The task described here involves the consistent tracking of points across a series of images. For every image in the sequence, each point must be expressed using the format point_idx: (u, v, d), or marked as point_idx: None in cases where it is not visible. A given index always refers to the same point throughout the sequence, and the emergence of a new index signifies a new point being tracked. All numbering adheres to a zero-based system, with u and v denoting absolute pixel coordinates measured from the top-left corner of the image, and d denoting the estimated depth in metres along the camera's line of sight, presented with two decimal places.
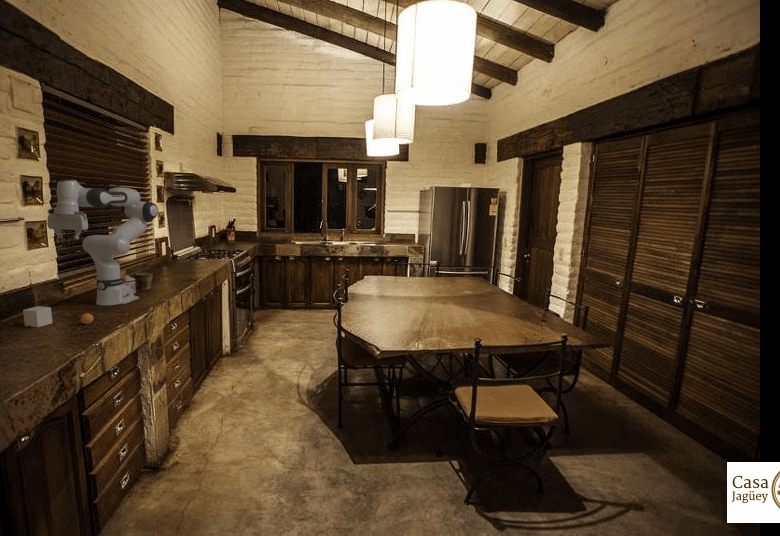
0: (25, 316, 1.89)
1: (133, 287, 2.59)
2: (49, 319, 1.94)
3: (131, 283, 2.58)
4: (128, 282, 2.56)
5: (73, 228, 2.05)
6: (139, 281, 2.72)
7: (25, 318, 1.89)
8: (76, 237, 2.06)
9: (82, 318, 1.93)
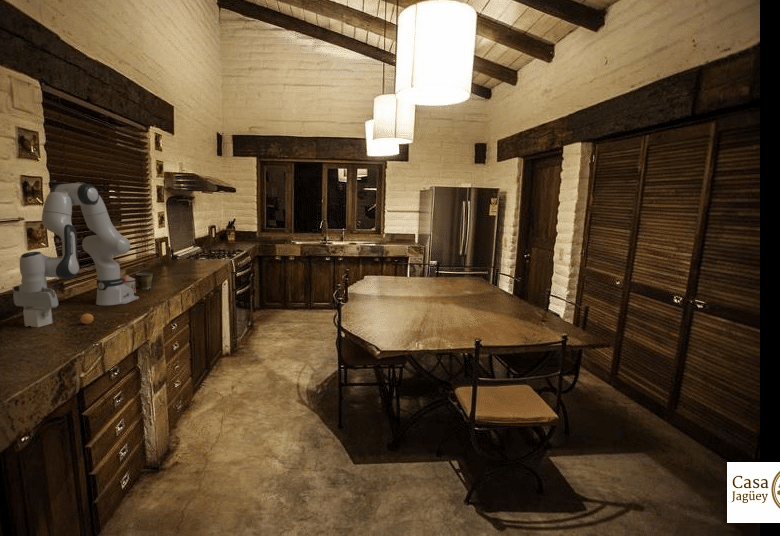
0: (25, 316, 1.89)
1: (133, 287, 2.59)
2: (49, 319, 1.94)
3: (131, 283, 2.58)
4: (128, 282, 2.56)
5: (42, 306, 1.89)
6: (139, 281, 2.72)
7: (25, 318, 1.89)
8: (45, 315, 1.91)
9: (82, 318, 1.93)
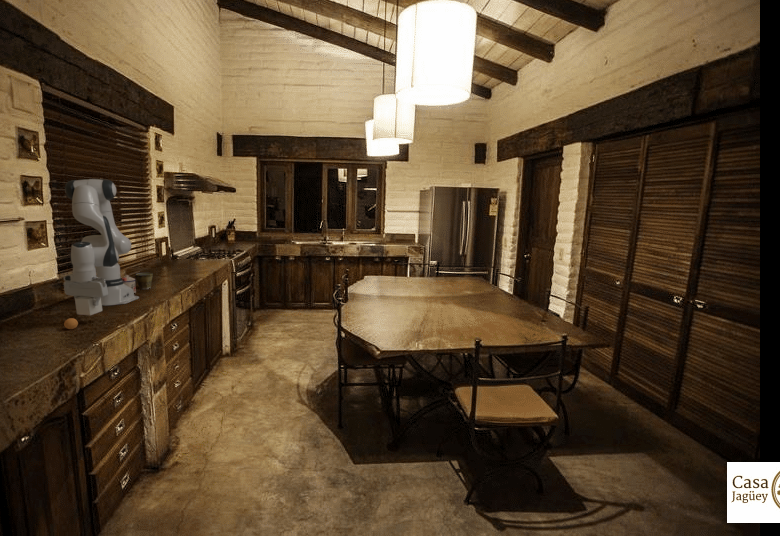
0: (77, 304, 1.93)
1: (133, 287, 2.59)
2: (99, 307, 1.98)
3: (131, 283, 2.58)
4: (128, 282, 2.56)
5: (93, 295, 1.92)
6: (139, 281, 2.72)
7: (77, 306, 1.93)
8: (96, 304, 1.94)
9: None
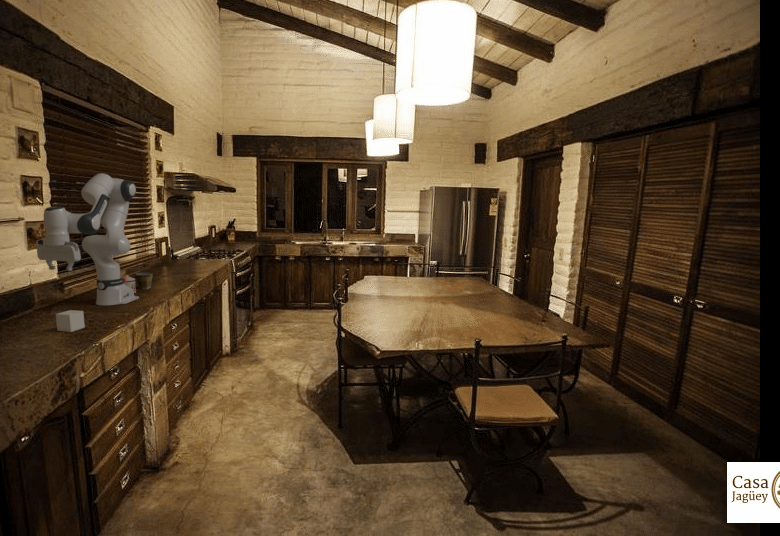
0: (58, 320, 1.84)
1: (133, 287, 2.59)
2: (81, 323, 1.89)
3: (131, 283, 2.58)
4: (128, 282, 2.56)
5: (65, 260, 1.93)
6: (139, 281, 2.72)
7: (58, 322, 1.84)
8: (69, 269, 1.95)
9: None
